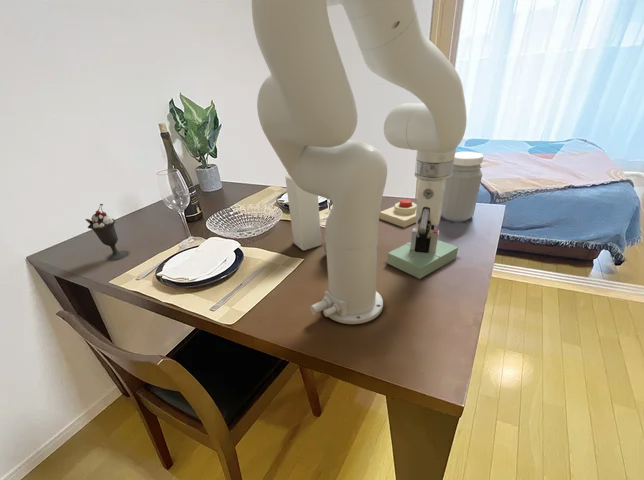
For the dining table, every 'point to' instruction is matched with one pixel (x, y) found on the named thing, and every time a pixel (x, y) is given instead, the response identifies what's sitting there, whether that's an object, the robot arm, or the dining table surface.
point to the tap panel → (421, 259)
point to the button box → (400, 215)
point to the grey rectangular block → (433, 241)
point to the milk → (303, 216)
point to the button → (405, 203)
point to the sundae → (105, 232)
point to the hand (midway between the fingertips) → (423, 244)
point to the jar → (462, 187)
